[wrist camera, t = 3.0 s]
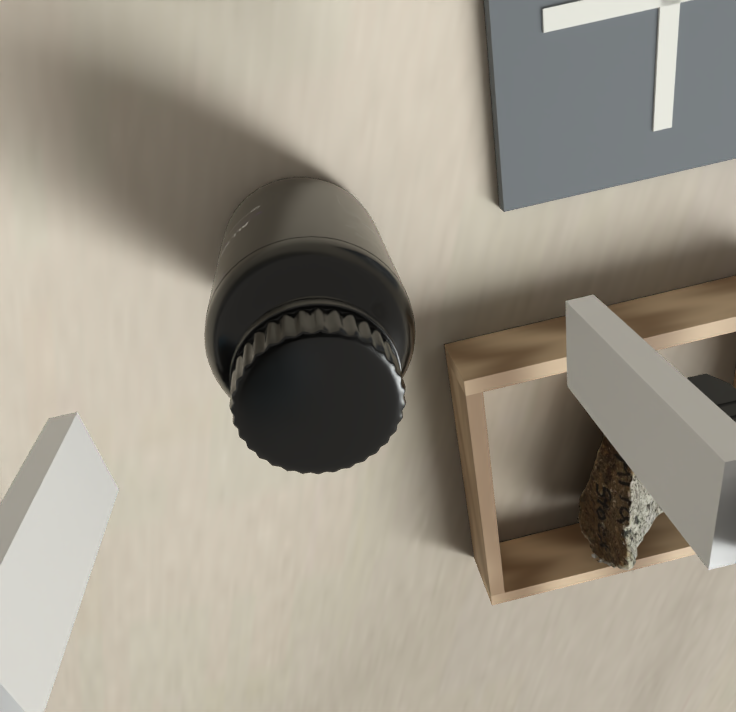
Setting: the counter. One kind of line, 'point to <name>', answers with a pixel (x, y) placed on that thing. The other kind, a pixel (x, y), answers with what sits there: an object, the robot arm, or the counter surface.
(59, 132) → the counter surface
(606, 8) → the rest mat
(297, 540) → the counter surface
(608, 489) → the rock sample
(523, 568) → the tray
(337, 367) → the supplement bottle
